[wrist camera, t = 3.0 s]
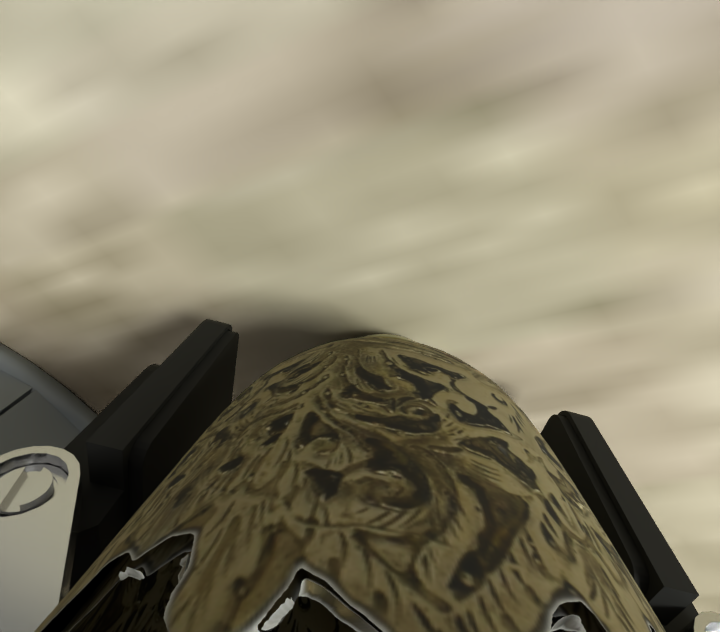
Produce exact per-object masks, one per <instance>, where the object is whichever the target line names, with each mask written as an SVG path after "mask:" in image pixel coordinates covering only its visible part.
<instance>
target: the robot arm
mask: <svg viewBox="0 0 720 632" xmlns="http://www.w3.org/2000/svg"><path fill="white" fill-rule="evenodd" d="M238 340H239V335H238V333H236V332H232V326H231V325H229V324H225V323H221V322H218V321H214V320H210V319H206V320H204V321H203V322H202V323H201V324H200V325H199V326H198V327H197V328H196V329H195V330H194V331H193V332H192V333H191V335H190V336H189V337H188V338H187V339H186V340H185V341H184V342H183V343H182V344H181V345H180V346H179V347H178V348H177V349H176V350H175V351H174V352H173V353H172V354H171V355H170V356H169V357H168V358H167V359H166V360H165V361H164V362H163V363H162V364H161V365H156V364H154V365H150V366H149V367H147V368H146V369H145V370H144V371H143V372H142V373H141V374H140V375H139V376H138V377H137V378H136V379H135V380H134V381H133V382H132V383H131V384H129V385H128V386H127V387H126V388H125V389H124V390H123V391H122V392H121V393H120V394H119V395H118V396H117V397H116V398H115V399H114V400H113V401H112V402H111V403H110V404H109V405H108V406H107V407H106V408H105V409H104V410H103V411H102V412H101V413H100V414H99V415H98V416H97V417H96V418H95V419H94V420H93V421H92V422H91V423H90V424H89V425H88V426H87V427H86V428H84V429H83V430H82V431H81V432H80V433H79V434H78V435H77V436H76V437H75V438H74V439H73V440H72V441H71V442H70V443H69V444H68V445H67V446H66V447H65V448H64V449H62V448H57V447H52V446H32V447H27V448H22V449H17V450H13V451H11V452H8V453H5V454H3V455H0V632H34V631H35V630H36V629H37V628H38V627H39V626H40V624H41V623H42V622H43V621H44V620H45V619H46V618H47V616H48V615H49V614H50V613H51V612H52V611H53V610H54V608H55V607H56V606H57V605H58V604H59V603H60V602H61V601H62V599H63V598H64V597H65V596H66V595H67V594H68V593H69V591H70V590H71V589H72V588H73V587H74V585H75V584H76V583H77V582H78V581H79V579H80V578H81V577H82V576H83V575H84V573H85V572H86V571H87V570H88V569H89V567H90V566H91V565H92V564H93V563H94V562H95V560H96V559H97V558H98V557H99V556H100V554H101V553H102V552H103V551H104V550H105V548H106V547H107V546H108V545H109V544H110V542H111V541H112V540H113V539H114V538H115V536H116V535H117V534H118V533H119V532H120V530H121V529H122V528H123V527H124V526H125V525H126V523H127V522H128V521H129V520H130V519H131V517H132V516H133V515H134V514H135V513H136V511H137V510H138V509H139V508H140V507H141V506H142V504H143V503H144V502H145V501H146V500H147V498H148V497H149V496H150V495H151V494H152V493H153V491H154V490H155V489H156V488H157V487H158V485H159V484H160V483H161V482H162V481H163V480H164V478H165V477H166V476H167V475H168V474H169V472H170V471H171V470H172V469H173V468H174V467H175V465H176V464H177V463H178V462H179V461H180V460H181V458H182V457H183V456H184V455H185V454H186V453H187V451H188V450H189V449H190V448H191V447H192V446H193V445H194V443H195V442H196V441H197V440H198V439H199V438H200V436H201V435H202V434H203V433H204V432H205V431H206V430H207V428H208V427H209V426H210V425H211V424H212V423H213V422H214V421H215V420H216V419H217V418H218V416H219V415H220V414H221V413H222V412H223V411H224V410H225V409H226V408H227V407H228V406H229V405H230V404H231V401H232V392H233V384H234V375H235V366H236V358H237V349H238ZM541 436H542V437H543V438H544V440H545V441H546V442H547V444H548V445H549V446H550V448H551V449H552V451H553V452H554V454H555V455H556V457H557V458H558V460H559V461H560V463H561V464H562V466H563V467H564V469H565V470H566V471H567V473H568V475H569V476H570V478H571V479H572V481H573V482H574V484H575V486H576V487H577V489H578V490H579V492H580V494H581V495H582V497H583V498H584V500H585V501H586V503H587V505H588V506H589V508H590V509H591V511H592V513H593V514H594V516H595V517H596V519H597V521H598V522H599V524H600V525H601V527H602V529H603V530H604V532H605V533H606V535H607V537H608V538H609V540H610V541H611V543H612V545H613V546H614V548H615V550H616V551H617V553H618V554H619V556H620V558H621V559H622V561H623V562H624V564H625V566H626V567H627V569H628V571H629V572H630V574H631V575H632V577H633V579H634V580H635V582H636V584H637V585H638V587H639V589H640V590H641V592H642V593H643V595H644V597H645V598H646V600H647V602H648V603H649V605H650V607H651V608H652V610H653V611H654V613H655V615H656V616H657V618H658V620H659V621H660V623H661V625H662V626H663V628H664V630H665V631H666V632H720V614H719V613H716V612H712V611H709V612H701V613H700V614H698V612H697V611H696V609H695V607H694V605H693V604H692V602H693V601H694V600H695V599H696V598H697V597H698V596H699V594H698V592H697V591H696V589H695V588H694V586H693V584H692V583H691V581H690V579H689V578H688V576H687V574H686V573H685V571H684V569H683V568H682V566H681V565H680V563H679V561H678V560H677V558H676V556H675V555H674V553H673V551H672V550H671V548H670V547H669V545H668V543H667V542H666V540H665V538H664V537H663V535H662V533H661V532H660V530H659V528H658V527H657V525H656V524H655V522H654V520H653V519H652V517H651V515H650V514H649V512H648V510H647V509H646V507H645V505H644V504H643V502H642V501H641V499H640V497H639V496H638V494H637V492H636V491H635V489H634V487H633V486H632V484H631V482H630V481H629V479H628V478H627V476H626V474H625V473H624V471H623V469H622V468H621V466H620V464H619V463H618V461H617V459H616V458H615V456H614V455H613V453H612V451H611V450H610V448H609V446H608V445H607V443H606V441H605V440H604V438H603V437H602V435H601V433H600V432H599V430H598V428H597V427H596V425H595V423H594V422H593V420H592V419H591V418H590V417H588V416H584V415H580V414H576V413H572V412H569V411H561V412H560V413H559V414H558V415H552V416H551V417H550V418H549V420H548V422H547V423H546V425H545V427H544V429H543V430H542V432H541ZM66 608H67V605H66V606H65V607H64V608H63V609H62V610H61V611H60V612H59V613H58V614H57V615H56V616H55V617H54V618H53V619H52V620H51V621H50V623H49V624H48V625H47V626H46V627H45V628H44V629H43V630H42V631H41V632H61V631H62V630H63V627H64V621H65V614H66Z"/></svg>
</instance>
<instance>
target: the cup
mask: <svg viewBox="0 0 720 632" xmlns="http://www.w3.org/2000/svg"><path fill="white" fill-rule="evenodd" d="M66 605H67V608H66V614H65V621H64V627H63V630H62V631H61V632H666V631H665V630H664V628H663V626H662V625H661V623H660V621H659V620H658V618H657V616H656V615H655V613H654V611H653V610H652V608H651V607H650V605H649V603H648V602H647V600H646V598H645V597H644V595H643V593H642V592H641V590H640V589H639V587H638V585H637V584H636V582H635V580H634V579H633V577H632V575H631V574H630V572H629V571H628V569H627V567H626V566H625V564H624V562H623V561H622V559H621V558H620V556H619V554H618V553H617V551H616V550H615V548H614V546H613V545H612V543H611V541H610V540H609V538H608V537H607V535H606V533H605V532H604V530H603V529H602V527H601V525H600V524H599V522H598V521H597V519H596V517H595V516H594V514H593V513H592V511H591V509H590V508H589V506H588V505H587V503H586V501H585V500H584V498H583V497H582V495H581V494H580V492H579V490H578V489H577V487H576V486H575V484H574V482H573V481H572V479H571V478H570V476H569V475H568V473H567V471H566V470H565V469H564V467H563V466H562V464H561V463H560V461H559V460H558V458H557V457H556V455H555V454H554V452H553V451H552V449H551V448H550V446H549V445H548V444H547V442H546V441H545V440H544V438H543V437H542V436H541V434H540V433H539V432H538V431H537V429H536V428H535V427H534V425H533V424H532V423H531V421H530V420H529V419H528V417H527V416H526V415H525V413H524V412H523V411H522V410H521V409H520V408H519V407H518V406H517V405H516V404H515V403H514V402H513V401H512V399H511V398H510V397H509V396H508V395H507V394H506V393H505V392H504V391H503V390H502V389H501V388H500V387H499V386H498V385H497V384H495V383H494V382H493V381H491V380H490V379H489V378H488V377H486V376H485V375H484V374H482V373H481V372H479V371H478V370H476V369H475V368H473V367H471V366H470V365H468V364H467V363H465V362H463V361H462V360H460V359H458V358H456V357H454V356H452V355H450V354H448V353H446V352H444V351H441V350H438V349H436V348H433V347H430V346H427V345H424V344H420V343H417V342H415V341H413V340H411V339H408V338H405V337H402V336H398V335H392V334H372V335H366V336H362V337H358V338H352V339H345V340H339V341H334V342H331V343H327V344H323V345H320V346H317V347H314V348H312V349H309V350H307V351H304V352H302V353H299V354H297V355H295V356H293V357H291V358H289V359H287V360H285V361H283V362H281V363H280V364H278V365H277V366H276V367H274V368H273V369H271V370H270V371H268V372H267V373H266V374H264V375H263V376H262V377H260V378H259V379H258V380H256V381H255V382H254V383H253V384H252V385H250V386H249V387H248V388H247V389H246V390H245V391H244V392H243V393H242V394H240V395H239V396H238V397H237V398H236V399H235V400H234V401H233V402H232V403H231V404H230V405H229V406H228V407H227V408H226V409H225V410H224V411H223V412H222V413H221V414H220V415H219V416H218V418H217V419H216V420H215V421H214V422H213V423H212V424H211V425H210V426H209V427H208V428H207V430H206V431H205V432H204V433H203V434H202V435H201V436H200V438H199V439H198V440H197V441H196V442H195V443H194V445H193V446H192V447H191V448H190V449H189V450H188V451H187V453H186V454H185V455H184V456H183V457H182V458H181V460H180V461H179V462H178V463H177V464H176V465H175V467H174V468H173V469H172V470H171V471H170V472H169V474H168V475H167V476H166V477H165V478H164V480H163V481H162V482H161V483H160V484H159V485H158V487H157V488H156V489H155V490H154V491H153V493H152V494H151V495H150V496H149V497H148V498H147V500H146V501H145V502H144V503H143V504H142V506H141V507H140V508H139V509H138V510H137V511H136V513H135V514H134V515H133V516H132V517H131V519H130V520H129V521H128V522H127V523H126V525H125V526H124V527H123V528H122V529H121V530H120V532H119V533H118V534H117V535H116V536H115V538H114V539H113V540H112V541H111V542H110V544H109V545H108V546H107V547H106V548H105V550H104V551H103V552H102V553H101V554H100V556H99V557H98V558H97V559H96V560H95V562H94V563H93V564H92V565H91V566H90V567H89V569H88V570H87V571H86V572H85V573H84V575H83V576H82V577H81V578H80V579H79V581H78V582H77V583H76V584H75V585H74V587H73V588H72V589H71V590H70V591H69V593H68V594H67V595H66V596H65V597H64V598H63V599H62V601H61V602H60V603H59V604H58V605H57V606H56V607H55V608H54V610H53V611H52V612H51V613H50V614H49V615H48V616H47V618H46V619H45V620H44V621H43V622H42V623H41V624H40V626H39V627H38V628H37V629H36V630H35V631H34V632H41V631H42V630H43V629H44V628H45V627H46V626H47V625H48V624H49V623H50V621H51V620H52V619H53V618H54V617H55V616H56V615H57V614H58V613H59V612H60V611H61V610H62V609H63V608H64V607H65V606H66Z"/></svg>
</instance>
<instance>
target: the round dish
mask: <svg viewBox="0 0 720 632" xmlns="http://www.w3.org/2000/svg"><path fill="white" fill-rule="evenodd" d="M97 416H98V415H97V414H96V413H94V412H93V411H92V410H91V409H90V408H89V407H88V406H86V405H85V404H84V403H83V402H82V401H81V400H80V399H79V398H77V397H76V396H75V395H74V394H73V393H72V392H71V391H69V390H68V389H67V388H65V387H64V386H63V385H61V384H60V383H59V382H57V381H56V380H55V379H53V378H52V377H51V376H49V375H48V374H47V373H45V372H44V371H43V370H41V369H40V368H38V367H37V366H36V365H34V364H33V363H32V362H30V361H29V360H27V359H25V358H24V357H22V356H21V355H19V354H17V353H16V352H14V351H13V350H11V349H9V348H8V347H6V346H5V345H3V344H1V343H0V455H3V454H5V453H8V452H11V451H13V450H17V449H22V448H27V447H32V446H52V447H57V448H62V449H64V448H65V447H66V446H67V445H68V444H69V443H70V442H71V441H72V440H73V439H74V438H75V437H76V436H77V435H78V434H79V433H80V432H81V431H82V430H83V429H84V428H86V427H87V426H88V425H89V424H90V423H91V422H92V421H93V420H94V419H95V418H96V417H97Z"/></svg>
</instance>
